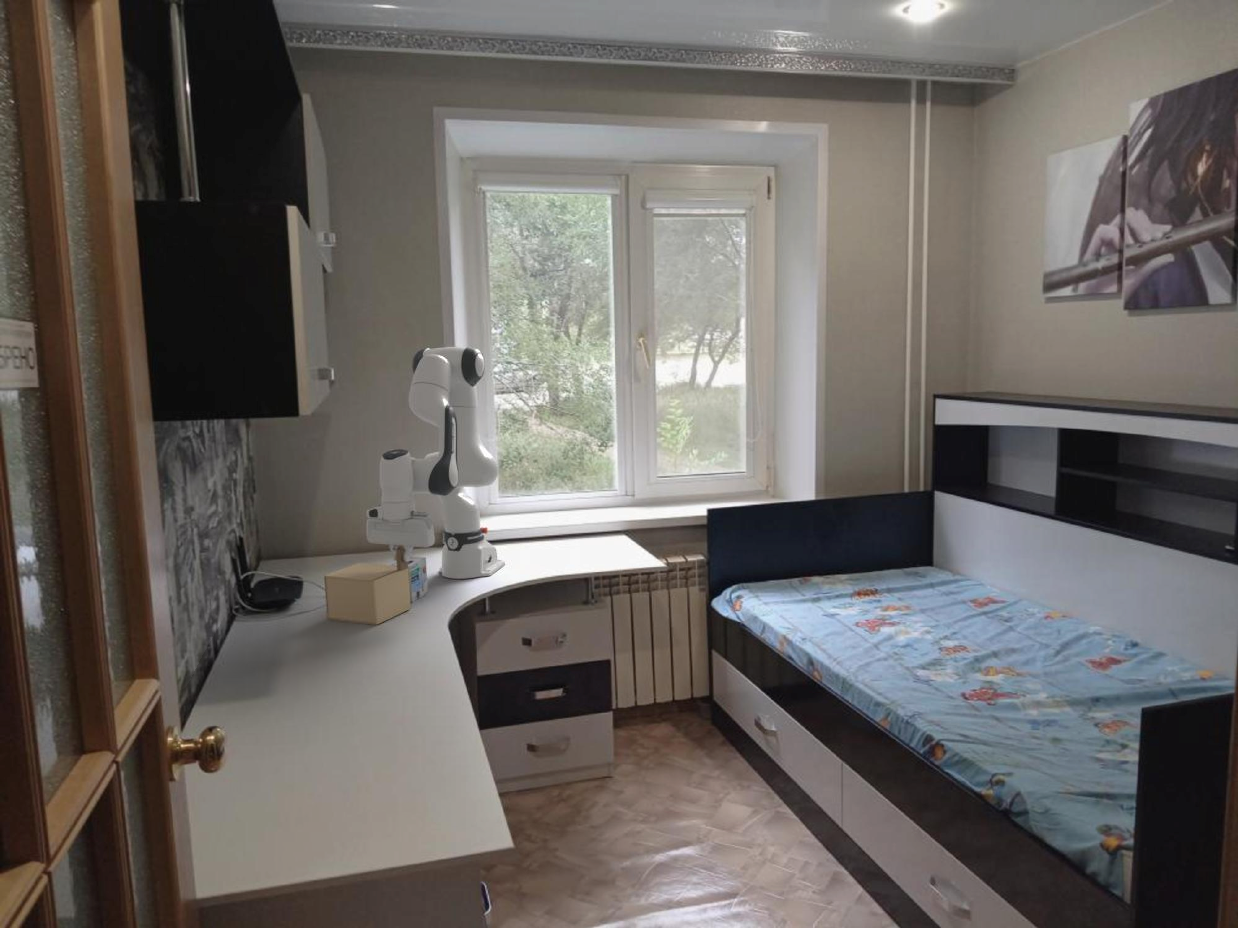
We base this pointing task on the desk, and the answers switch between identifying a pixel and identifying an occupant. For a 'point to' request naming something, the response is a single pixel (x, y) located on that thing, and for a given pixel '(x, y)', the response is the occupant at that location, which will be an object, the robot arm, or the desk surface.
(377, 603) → the side flap
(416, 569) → the light bulb box
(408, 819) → the desk surface
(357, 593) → the carton
